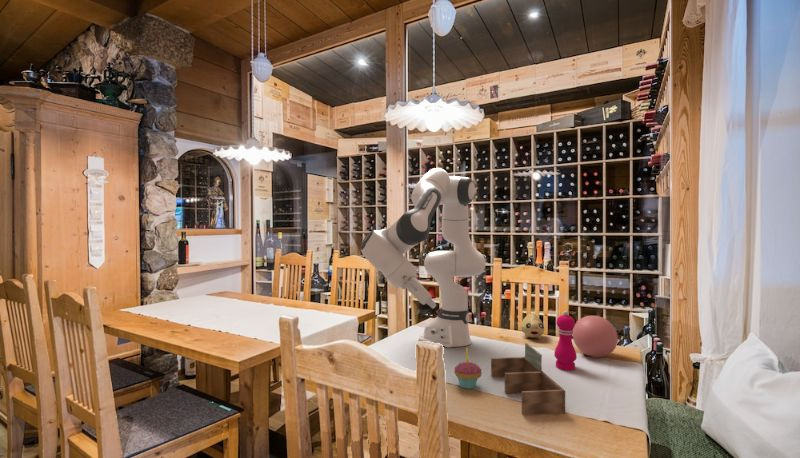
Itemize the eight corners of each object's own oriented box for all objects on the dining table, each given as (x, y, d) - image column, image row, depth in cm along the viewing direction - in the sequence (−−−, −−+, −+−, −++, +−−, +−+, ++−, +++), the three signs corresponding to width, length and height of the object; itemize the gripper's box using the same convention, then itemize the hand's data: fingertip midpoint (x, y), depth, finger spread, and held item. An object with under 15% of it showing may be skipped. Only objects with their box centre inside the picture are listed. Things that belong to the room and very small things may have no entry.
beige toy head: (522, 341, 168) (523, 317, 168) (519, 333, 180) (519, 310, 180) (547, 343, 166) (547, 318, 166) (542, 334, 178) (542, 311, 178)
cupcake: (452, 380, 127) (452, 343, 127) (478, 379, 128) (478, 343, 128) (457, 391, 119) (457, 352, 119) (484, 391, 119) (485, 352, 119)
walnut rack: (522, 414, 105) (522, 373, 104) (491, 375, 131) (491, 343, 131) (565, 412, 106) (565, 372, 106) (525, 374, 132) (525, 342, 132)
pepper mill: (552, 363, 143) (552, 308, 142) (573, 364, 142) (573, 309, 141) (556, 370, 136) (557, 312, 135) (579, 371, 134) (579, 313, 134)
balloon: (599, 346, 162) (599, 308, 162) (625, 363, 142) (626, 321, 142) (561, 345, 163) (561, 308, 162) (582, 363, 143) (583, 321, 142)
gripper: (413, 271, 111) (447, 305, 112) (406, 263, 131) (435, 292, 132) (398, 287, 111) (432, 321, 112) (392, 277, 131) (421, 305, 132)
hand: (433, 305), depth 122 cm, fingers closed
